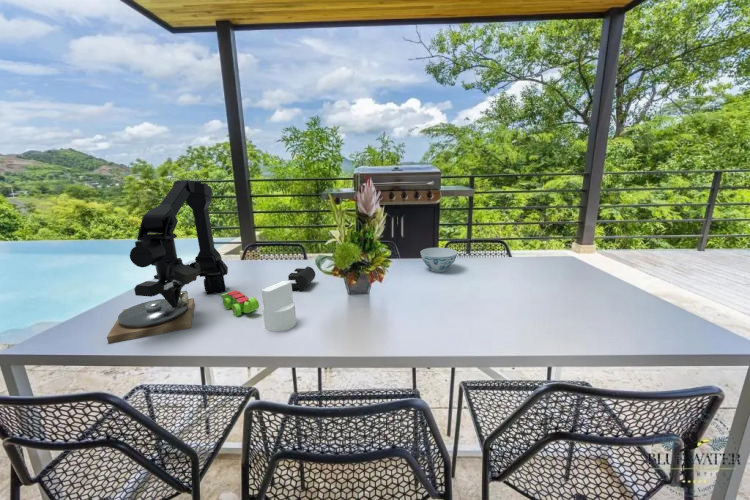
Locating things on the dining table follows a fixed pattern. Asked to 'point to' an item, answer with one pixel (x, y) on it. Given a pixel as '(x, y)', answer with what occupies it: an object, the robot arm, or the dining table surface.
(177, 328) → the wheel base
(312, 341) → the dining table surface
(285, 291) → the base with upright slab
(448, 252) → the chinaware
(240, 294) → the toy crocodile
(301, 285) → the end cap
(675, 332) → the dining table surface
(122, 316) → the handwheel
